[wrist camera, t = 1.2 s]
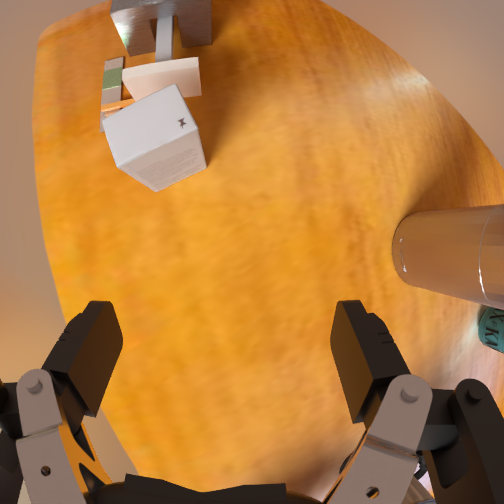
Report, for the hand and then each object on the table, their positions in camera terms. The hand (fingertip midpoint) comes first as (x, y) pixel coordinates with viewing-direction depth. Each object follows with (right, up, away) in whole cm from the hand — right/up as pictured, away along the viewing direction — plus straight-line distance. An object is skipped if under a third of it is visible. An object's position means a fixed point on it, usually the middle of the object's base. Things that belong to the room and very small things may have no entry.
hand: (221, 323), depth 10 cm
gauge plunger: (-10, +24, +18) cm, 31 cm away
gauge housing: (-10, +24, +18) cm, 32 cm away
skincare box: (-7, +12, +20) cm, 24 cm away
